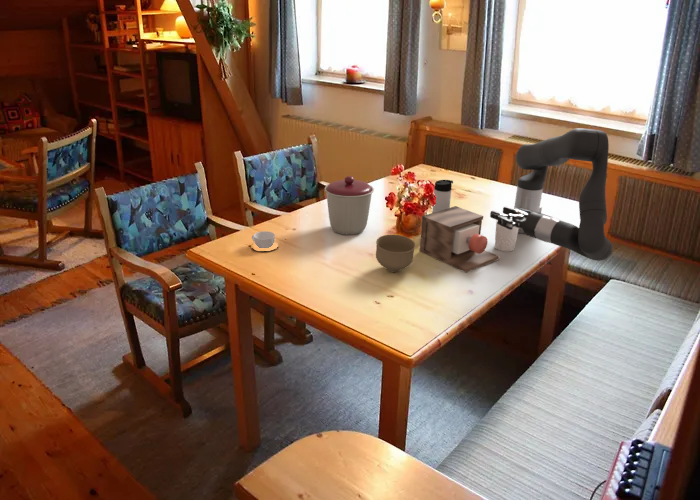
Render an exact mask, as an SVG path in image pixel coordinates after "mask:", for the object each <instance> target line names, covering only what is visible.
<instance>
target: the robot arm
mask: <svg viewBox="0 0 700 500" xmlns="http://www.w3.org/2000/svg"><path fill="white" fill-rule="evenodd" d="M608 136H609V135H608V134H607V132H605V131H604V130H600V129H594V128H593V129H592V128H583V127H578V128H577V127H576V128H573V129H571V130H569V131H568V132H565V133H564V134H562V135H558V136H553V137H550V138H548V139H544V140H542V141H538V142H536V143H534V144H533V143H530V144H529V143H525V144H522V145H521V146H520V147H519V148H518V149H517V152H516V156H515V160H516V161H515V162H516V164H517V166H518V167H519V168H520V169H521V170H526V171H527V170H529V171H530V170H531V172H529V173H528V174H526V175H523V176H521V177H519V178H518V180H517V184H516V185H517V186H516V187H517V188H516V193H515V200H514V206H513V208H512V207H508V206H503V208H502V213H501V212H499V211H495V210H491V211H490V213H489V217H490V218H491V219H493V220H496V221H497V220H498V222H497V224H499V225H501V226H503V227H505V228H507V229H510V230H512V229H513V227H514V226H515V227H516V228H519V229H518V233H519V234H524V235H526V236H528V237H531V238H534V239H536V240H539V241H541V242H545V243H549V244H552V245H556V246H558V247H560V248H565V249H567V250H570V251H573V252H574V253H577V254H578V255H581V257H582V256H583V257H585V258H587V259H589V260H592V261H599V262H600V261H605V260H606V259H608V258H609V257H610V256H611V255H612V253H613V245H612V242H611V240H609V238H608V237H606V235H605V225H606V223H607V220H608V219H607V218H608V213H607V201H606V200H607V199H606V185H607V175H608V174H607V173H608V163H609V161H608V160H609V150H610V149H609V147H610V145H609V138H608ZM569 160H575V161H581V162H590V163H591V164H592V172H591V175H590V177H589V178H588V180H587V181H586V183H585V185H584V186H583V188H582V190H581V191H580V194H579V197H578V198H579V199H578V207H579V209H578V211H579V220H580V221H579V226H576V225H575V224H572V223H569V222H566V221H563V220H561V219H558V218H556V217H553V216H550V215H547V214H544V213H542V209H543V207H541V202H542V195H543V189H544V186H545V185H544V184H545V182H546V178H547V172H548V168H549V167H556V166H561V165H564V164H565V163H567V162H568V161H569ZM510 218H511V219H512V220H510Z"/></svg>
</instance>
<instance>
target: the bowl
mask: <svg viewBox="0 0 700 500" xmlns="http://www.w3.org/2000/svg"><path fill="white" fill-rule="evenodd" d="M375 244H376V249H375V258H376V260H377V262H378V263H379V265H381V267H383V268H385V270H386V271H388V272H391V273H398V272H400V271H402V270H404V269H406V268H408V267H409V266H410V265H411V264H412V263H413V260H414V254H415V248H416V243H415V240H414V239H412V238H409V237H408V236H405V235H400V234H385V235H382V236H379V237H378V238H377V239H376V241H375Z"/></svg>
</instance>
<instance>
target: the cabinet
mask: <svg viewBox="0 0 700 500" xmlns="http://www.w3.org/2000/svg"><path fill="white" fill-rule="evenodd" d="M421 217H422V218H421V231H420V243H419V253H422V254H425V255H426V256H429V257H431V258H433V259H436V260H438V261H440V262H441V263H444V264H446V265H449V266H451V267H453V268H455V269H457V270H460V271H461V272H463V273H469V272H471V271H474V270H476V269H478V268H481V267H483V266H486V265H488V264H491V263H493V262H495V261H498V260H500V256H499V255H498V254H495V253H493V252H490V251H487V250H486V249H485V250H484V251H483V252H482V253H480V254H478V253H476V252H473V251H471V250H468V251H465V252H463V253H460V254H456V253H453V252H452V242H453V232H454V229H456V228H459V227H462V226H465V225H468V224H471V223H474V224H477V225H479V235H481V232H482V223H483V220H484V215H482V214H478V213H476V212H473V211H470V210H467V209H465V208H462V207H460V206H450V208H448V209H444V210H441V211H438V212H434V213H429V214H425V215H422V216H421Z"/></svg>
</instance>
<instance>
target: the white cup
mask: <svg viewBox="0 0 700 500" xmlns="http://www.w3.org/2000/svg"><path fill="white" fill-rule="evenodd" d="M510 220H512V217H511V218H510ZM497 222H498V220H496V222H495V223H496V224H495V237H494V248H495V249H496V250H498V251H499V252H500V251H501V252H511V251H512V252H513V251H514V249H515V246H516V243H517V238H518V229H519V228H516V227H515V226H514V227H513V229H512V230H510V229H507V228H505V227H503V226H501V225H499V224H497Z"/></svg>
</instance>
